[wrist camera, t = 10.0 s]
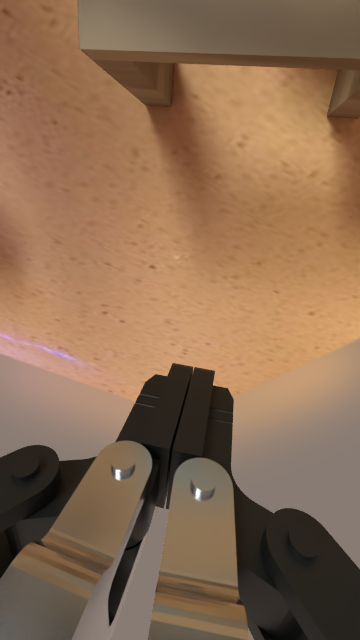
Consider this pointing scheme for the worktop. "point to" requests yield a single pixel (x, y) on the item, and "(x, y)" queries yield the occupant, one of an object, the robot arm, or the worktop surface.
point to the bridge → (222, 41)
